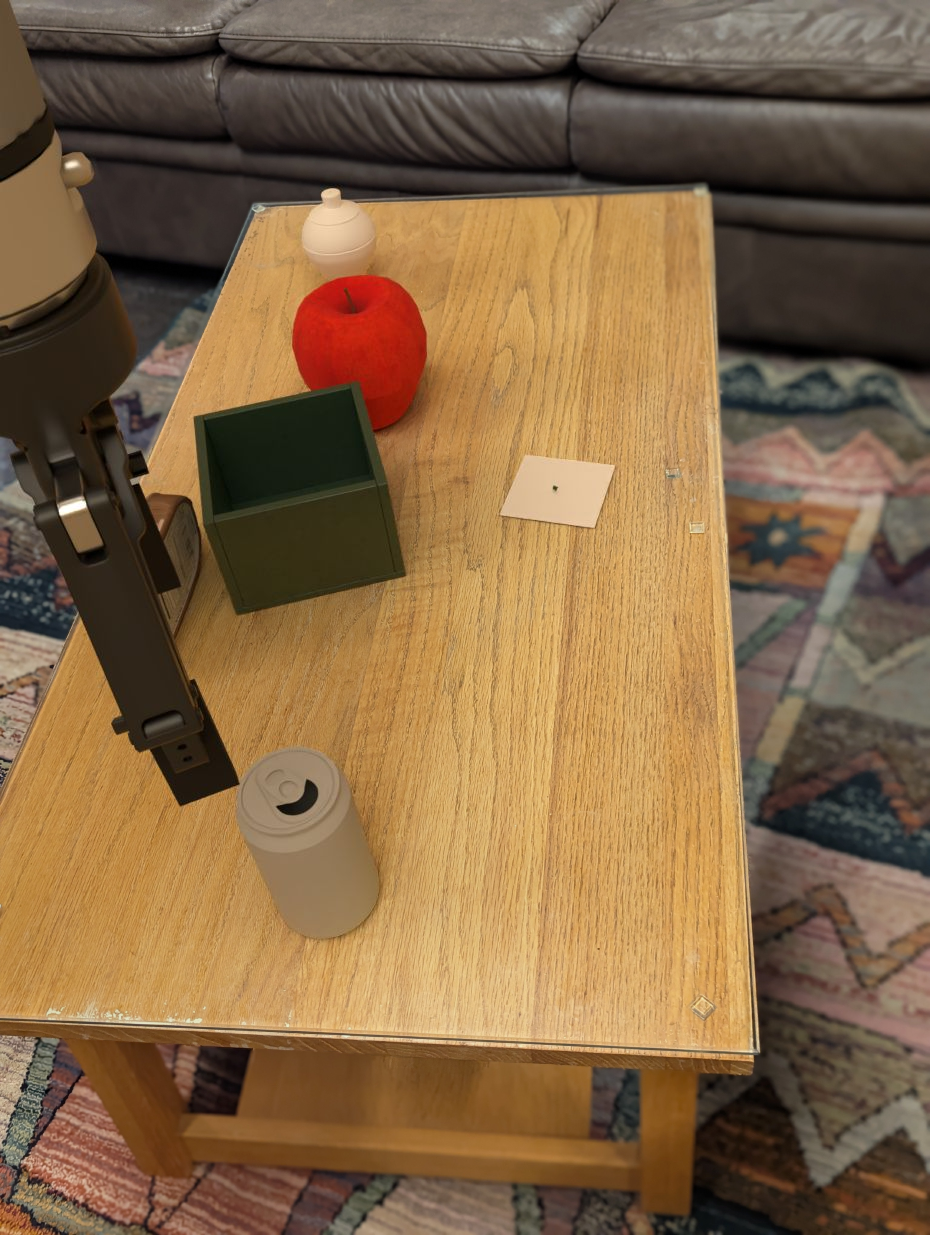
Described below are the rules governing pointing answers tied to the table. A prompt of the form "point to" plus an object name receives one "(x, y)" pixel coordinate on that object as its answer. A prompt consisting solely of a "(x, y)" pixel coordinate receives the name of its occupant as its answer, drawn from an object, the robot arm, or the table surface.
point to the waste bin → (296, 498)
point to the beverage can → (308, 841)
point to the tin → (178, 549)
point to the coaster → (558, 491)
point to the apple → (362, 342)
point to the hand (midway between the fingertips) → (179, 681)
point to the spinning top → (339, 237)
